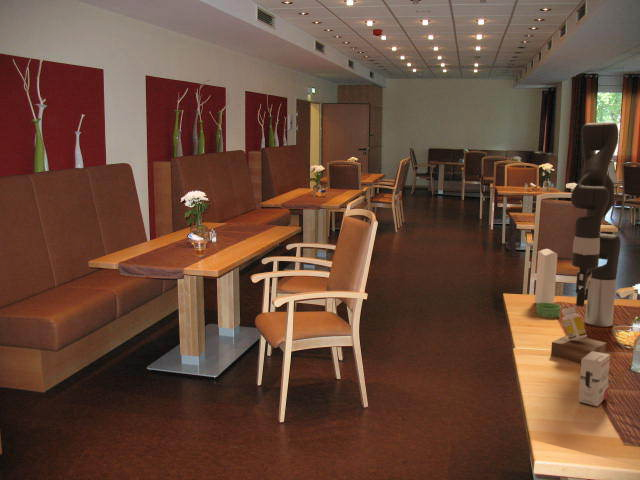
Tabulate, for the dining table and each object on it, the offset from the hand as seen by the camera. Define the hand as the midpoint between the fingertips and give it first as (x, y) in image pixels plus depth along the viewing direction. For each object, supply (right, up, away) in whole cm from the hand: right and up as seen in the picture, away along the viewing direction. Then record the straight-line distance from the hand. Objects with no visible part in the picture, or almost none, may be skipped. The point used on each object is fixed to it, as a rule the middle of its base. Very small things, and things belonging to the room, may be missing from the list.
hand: (581, 302), depth 198 cm
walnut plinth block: (0, -17, +2) cm, 18 cm away
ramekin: (+6, -10, +47) cm, 48 cm away
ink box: (-10, -22, -30) cm, 39 cm away
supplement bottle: (0, -12, +1) cm, 12 cm away
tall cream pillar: (+9, -8, +59) cm, 60 cm away
